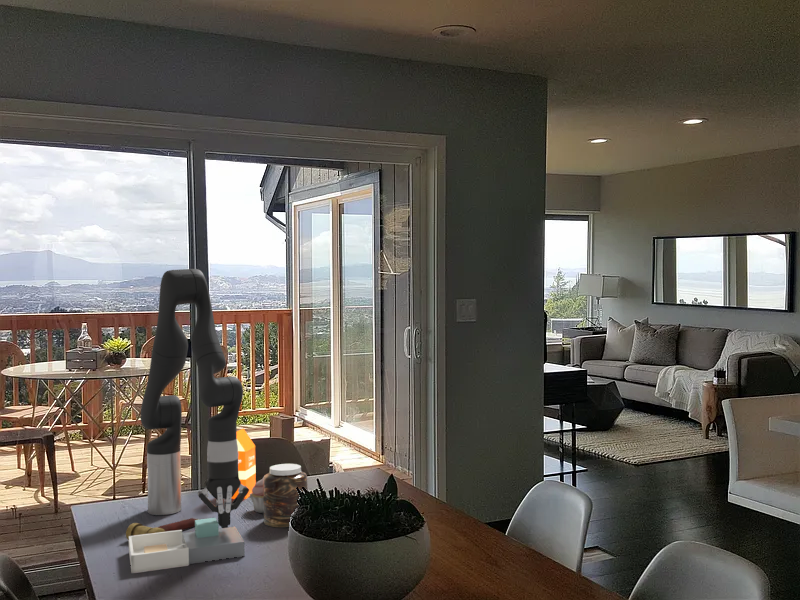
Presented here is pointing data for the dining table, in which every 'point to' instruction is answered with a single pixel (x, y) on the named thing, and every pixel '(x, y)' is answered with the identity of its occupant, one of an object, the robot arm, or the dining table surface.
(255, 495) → the cupcake
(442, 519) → the dining table surface
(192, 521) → the gavel
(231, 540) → the board
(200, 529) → the seafoam green cuboid
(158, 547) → the thick tan wooden block
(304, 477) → the jar
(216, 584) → the dining table surface
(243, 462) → the orange juice
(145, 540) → the tray
